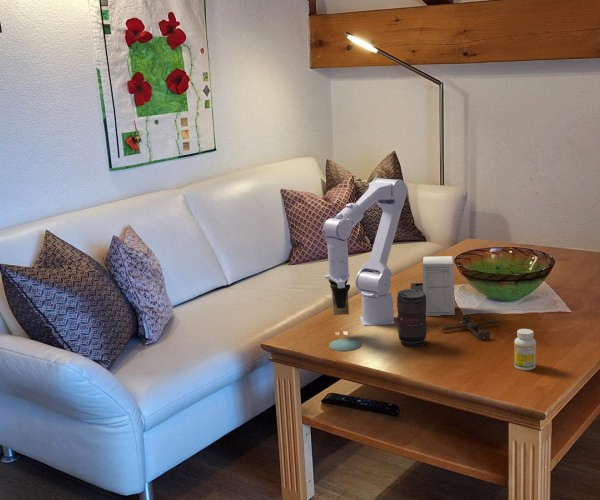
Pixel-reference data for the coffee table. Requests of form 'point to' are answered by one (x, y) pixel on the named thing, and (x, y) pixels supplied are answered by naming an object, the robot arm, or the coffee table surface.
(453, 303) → the supplement box
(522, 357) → the supplement bottle
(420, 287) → the vhs tape
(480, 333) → the dark cross-shaped bracket
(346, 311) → the walnut block
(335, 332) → the grey square plate
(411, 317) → the camera lens
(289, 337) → the coffee table surface
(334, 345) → the coaster
